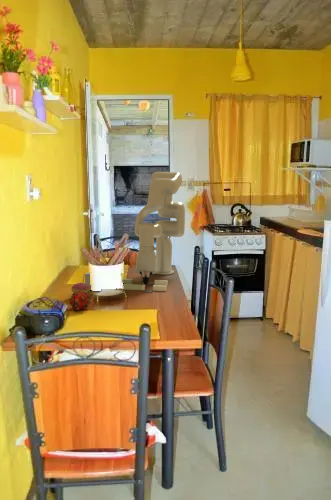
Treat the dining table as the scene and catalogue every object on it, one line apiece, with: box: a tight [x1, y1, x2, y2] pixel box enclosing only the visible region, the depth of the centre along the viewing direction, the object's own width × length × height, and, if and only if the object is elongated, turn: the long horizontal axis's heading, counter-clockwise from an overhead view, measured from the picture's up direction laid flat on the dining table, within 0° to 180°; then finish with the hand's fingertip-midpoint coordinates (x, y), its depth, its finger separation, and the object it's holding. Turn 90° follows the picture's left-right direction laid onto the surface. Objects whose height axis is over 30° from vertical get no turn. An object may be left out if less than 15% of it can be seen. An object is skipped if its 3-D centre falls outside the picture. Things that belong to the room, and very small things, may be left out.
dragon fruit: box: [69, 291, 92, 312], centre depth 178 cm, size 8×8×12 cm
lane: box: [122, 278, 169, 292], centre depth 217 cm, size 12×25×2 cm, turn 87°
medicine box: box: [84, 272, 91, 290], centre depth 208 cm, size 8×4×9 cm, turn 84°
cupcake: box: [71, 272, 91, 294], centre depth 194 cm, size 9×8×12 cm
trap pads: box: [143, 281, 155, 294], centre depth 218 cm, size 21×4×1 cm, turn 177°
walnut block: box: [131, 277, 143, 285], centre depth 218 cm, size 5×5×4 cm
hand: (145, 284), depth 217 cm, fingers closed
